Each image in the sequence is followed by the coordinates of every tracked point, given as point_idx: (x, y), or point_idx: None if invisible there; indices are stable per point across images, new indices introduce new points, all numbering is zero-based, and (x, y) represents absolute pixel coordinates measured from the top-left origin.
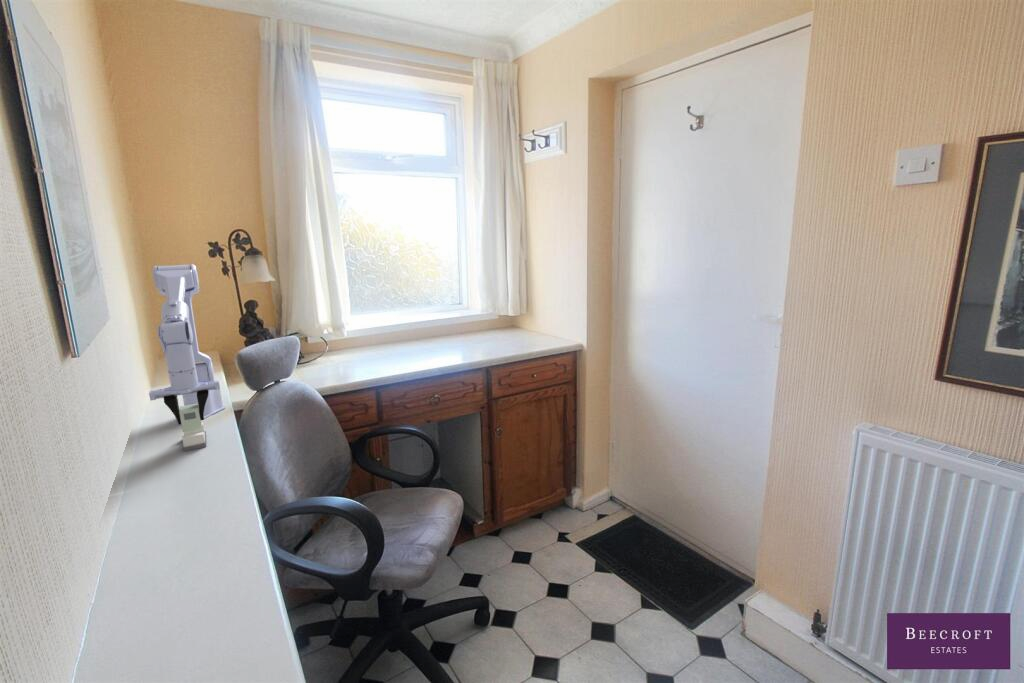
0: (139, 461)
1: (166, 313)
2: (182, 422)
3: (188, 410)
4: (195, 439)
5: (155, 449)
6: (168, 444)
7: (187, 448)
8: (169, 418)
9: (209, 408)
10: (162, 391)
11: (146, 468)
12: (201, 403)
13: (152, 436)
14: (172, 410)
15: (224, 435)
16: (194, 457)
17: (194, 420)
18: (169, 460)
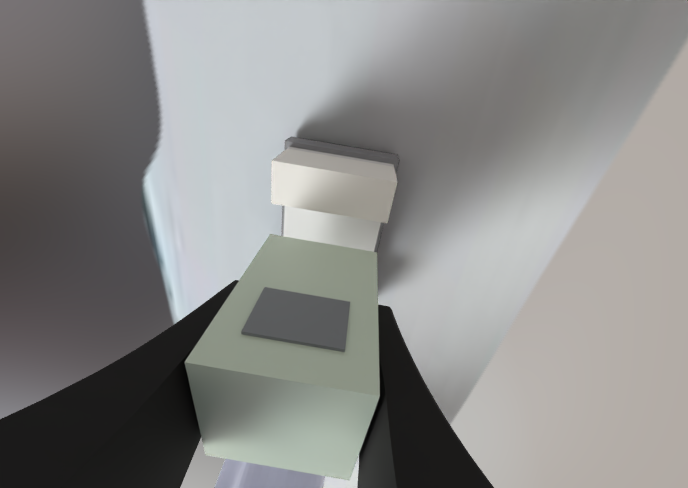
0: (585, 191)
1: None
2: (368, 296)
3: (288, 371)
4: (326, 163)
5: (477, 282)
6: (423, 297)
7: (377, 153)
8: None
9: None
10: None
11: (622, 44)
12: (97, 403)
13: (442, 392)
14: (447, 434)
15: (214, 236)
16: (365, 12)
17: (285, 280)
18: (484, 83)
